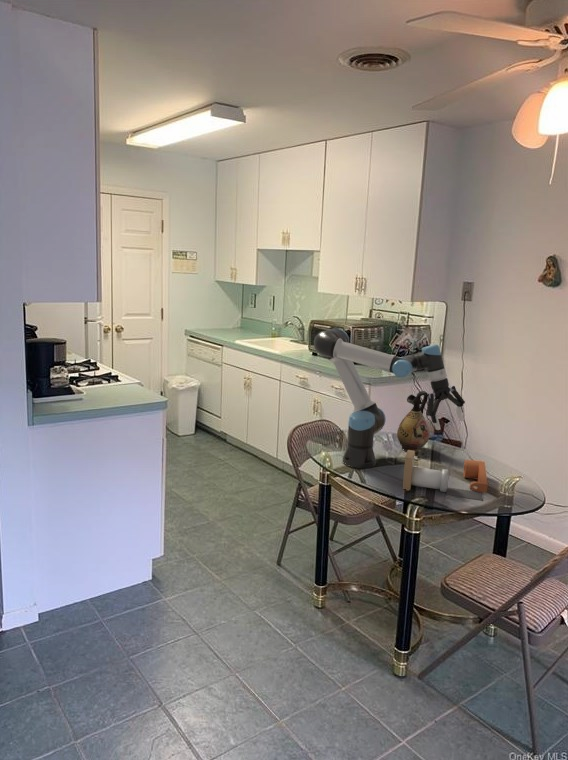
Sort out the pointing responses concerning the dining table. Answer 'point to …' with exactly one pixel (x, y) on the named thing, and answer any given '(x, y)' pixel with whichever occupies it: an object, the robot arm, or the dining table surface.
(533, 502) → the dining table surface
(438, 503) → the dining table surface
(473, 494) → the gasket mat
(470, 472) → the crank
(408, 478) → the pipe stub
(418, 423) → the ceramic jug
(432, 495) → the dining table surface
